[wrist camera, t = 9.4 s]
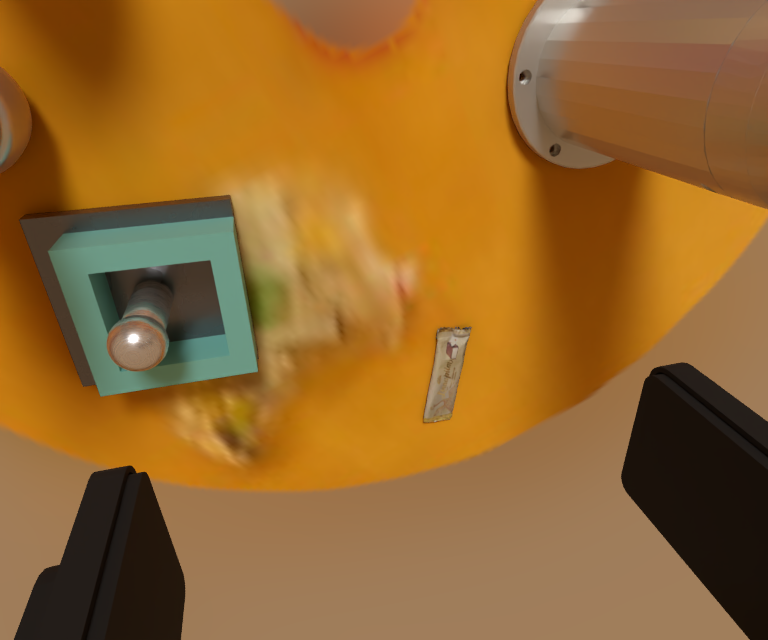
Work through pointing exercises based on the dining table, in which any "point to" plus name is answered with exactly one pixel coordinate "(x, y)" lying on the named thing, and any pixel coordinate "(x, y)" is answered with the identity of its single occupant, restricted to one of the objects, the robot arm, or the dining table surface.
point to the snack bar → (446, 373)
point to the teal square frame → (149, 249)
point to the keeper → (137, 283)
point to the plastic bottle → (13, 121)
